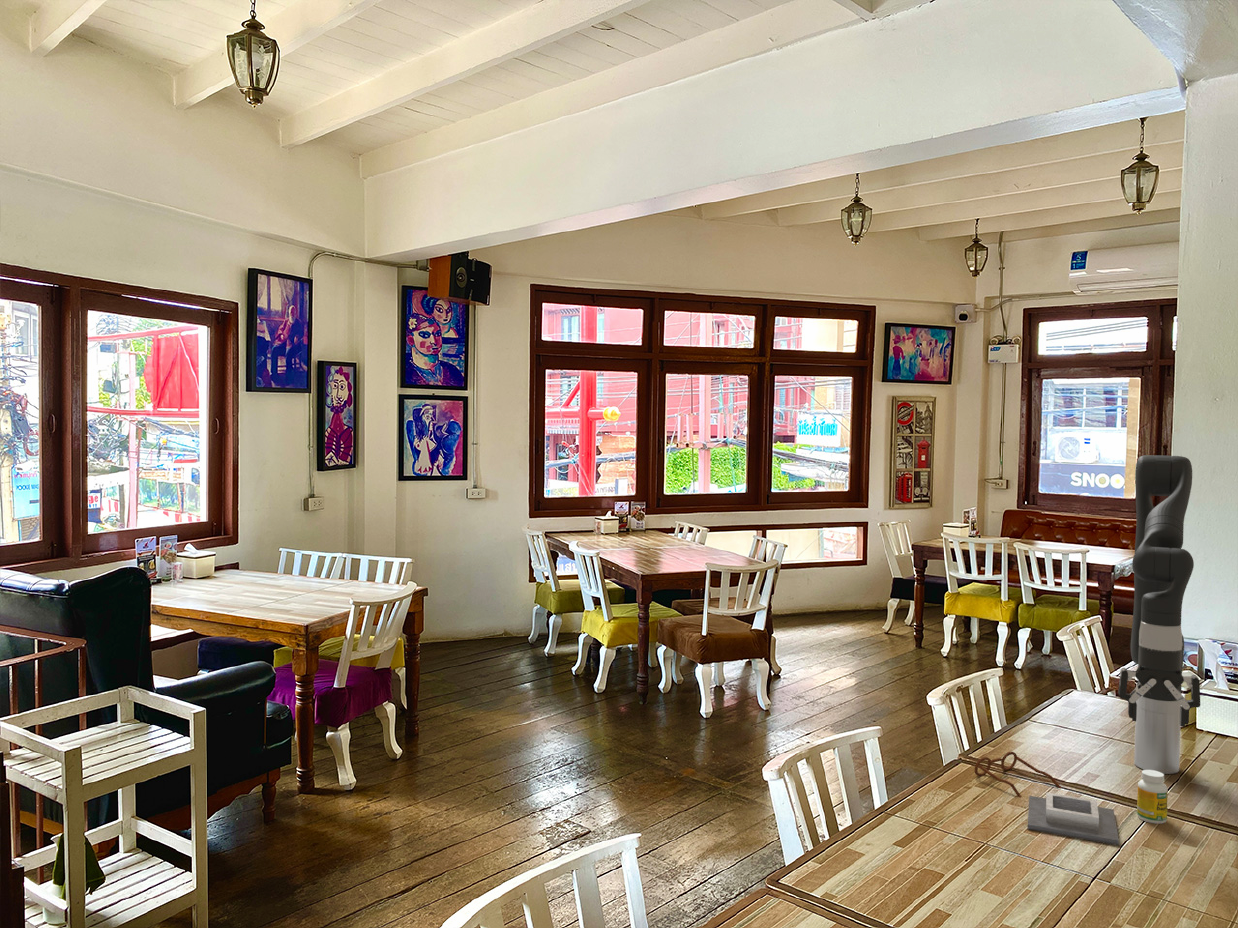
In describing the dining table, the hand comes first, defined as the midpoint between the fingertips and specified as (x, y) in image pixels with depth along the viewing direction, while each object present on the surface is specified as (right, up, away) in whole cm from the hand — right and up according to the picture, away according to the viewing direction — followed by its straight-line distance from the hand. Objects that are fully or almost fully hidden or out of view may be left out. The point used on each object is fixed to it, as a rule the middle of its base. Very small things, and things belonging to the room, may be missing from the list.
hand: (1157, 722), depth 185 cm
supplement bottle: (0, -20, +1) cm, 20 cm away
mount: (-18, -20, 0) cm, 27 cm away
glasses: (-20, -20, +20) cm, 35 cm away
